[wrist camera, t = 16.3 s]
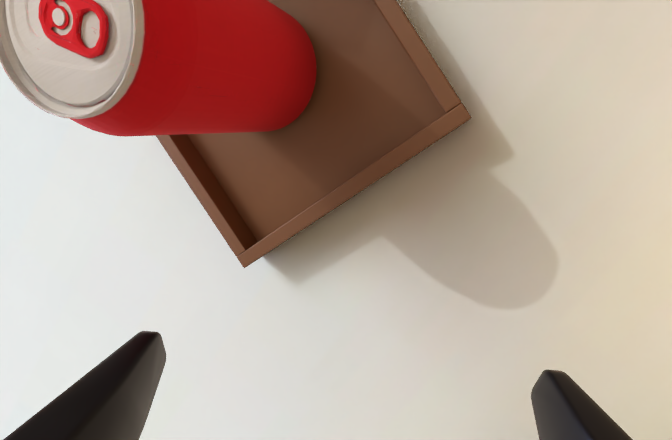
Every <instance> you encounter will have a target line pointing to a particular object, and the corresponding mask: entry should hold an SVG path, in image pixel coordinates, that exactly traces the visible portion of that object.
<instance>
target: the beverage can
mask: <svg viewBox="0 0 672 440" xmlns="http://www.w3.org/2000/svg"><path fill="white" fill-rule="evenodd" d="M0 62H1V64H2V66H3V68H4V70H5V72H6V73H7V75H8V77H9V78H10V80H11V81H12V82H13V84H14V85H15V86H16V88H17V89H18V90H19V91H20V92H21V93H22V94H23V95H24V96H25V97H26V98H27V99H28V100H29V101H31V102H32V103H33V104H34V105H35V106H37V107H39V108H40V109H42V110H44V111H45V112H47V113H50V114H53V115H56V116H59V117H63V118H70V119H71V120H73V121H75V122H77V123H79V124H81V125H83V126H85V127H87V128H90V129H92V130H95V131H98V132H102V133H105V134H109V135H115V136H149V135H179V134H209V133H239V132H267V131H274V130H278V129H281V128H283V127H285V126H287V125H289V124H290V123H291V122H293V121H294V120H295V119H296V118H297V117H298V116H299V115H300V114H301V113H302V112H303V111H304V109H305V108H306V106H307V104H308V103H309V101H310V99H311V96H312V93H313V90H314V87H315V82H316V69H317V66H316V57H315V53H314V49H313V46H312V43H311V41H310V38H309V36H308V35H307V33H306V31H305V30H304V28H303V27H302V26H301V25H300V23H299V22H298V21H297V20H296V19H294V18H293V17H292V16H291V15H289V14H288V13H286V12H285V11H283V10H282V9H280V8H278V7H277V6H275V5H274V4H272V3H271V2H269V1H268V0H0Z"/></svg>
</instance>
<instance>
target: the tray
mask: <svg viewBox="0 0 672 440" xmlns="http://www.w3.org/2000/svg"><path fill="white" fill-rule="evenodd" d="M268 1H269V2H271V3H272V4H274V5H275V6H277V7H278V8H280V9H282V10H283V11H285V12H286V13H288V14H289V15H291V16H292V17H293V18H294V19H296V20H297V21H298V22H299V23H300V25H301V26H302V27H303V28H304V30H305V31H306V33H307V35H308V36H309V38H310V41H311V43H312V46H313V49H314V53H315V57H316V66H317V69H316V82H315V87H314V90H313V93H312V96H311V99H310V101H309V103H308V104H307V106H306V108H305V109H304V111H303V112H302V113H301V114H300V115H299V116H298V117H297V118H296V119H295V120H294V121H293V122H291V123H290V124H289V125H287V126H285V127H283V128H281V129H278V130H274V131H267V132H239V133H209V134H179V135H156V137H157V138H158V140H159V141H160V143H161V144H162V146H163V147H164V149H165V150H166V152H167V153H168V155H169V156H170V158H171V159H172V161H173V162H174V164H175V165H176V167H177V168H178V170H179V171H180V173H181V174H182V176H183V177H184V179H185V180H186V182H187V183H188V185H189V186H190V188H191V189H192V191H193V192H194V194H195V195H196V197H197V198H198V200H199V201H200V203H201V204H202V206H203V207H204V209H205V210H206V212H207V213H208V215H209V216H210V218H211V219H212V221H213V222H214V224H215V225H216V227H217V228H218V230H219V231H220V233H221V234H222V236H223V237H224V239H225V240H226V242H227V243H228V245H229V246H230V248H231V249H232V251H233V252H234V254H235V255H236V256H237V258H238V260H239V261H240V263H241V264H242V266H243V267H244V268H245V267H247V266H248V265H250V264H251V263H253V262H254V261H256V260H258V259H259V258H261V257H262V256H264V255H265V254H267V253H268V252H270V251H271V250H273V249H274V248H276V247H277V246H279V245H280V244H282V243H283V242H285V241H286V240H288V239H289V238H291V237H292V236H294V235H295V234H297V233H299V232H300V231H302V230H303V229H305V228H306V227H308V226H309V225H311V224H312V223H314V222H315V221H317V220H318V219H320V218H321V217H323V216H324V215H326V214H327V213H329V212H330V211H332V210H333V209H335V208H336V207H338V206H339V205H341V204H342V203H344V202H345V201H347V200H348V199H350V198H352V197H353V196H355V195H356V194H358V193H359V192H361V191H362V190H364V189H365V188H367V187H368V186H370V185H371V184H373V183H374V182H376V181H377V180H379V179H380V178H382V177H383V176H385V175H386V174H388V173H389V172H391V171H392V170H394V169H395V168H397V167H398V166H400V165H401V164H403V163H405V162H406V161H408V160H409V159H411V158H412V157H414V156H415V155H417V154H418V153H420V152H421V151H423V150H424V149H426V148H427V147H429V146H430V145H432V144H433V143H435V142H436V141H438V140H439V139H441V138H442V137H444V136H445V135H447V134H448V133H450V132H451V131H453V130H454V129H456V128H458V127H459V126H461V125H462V124H464V123H465V122H467V121H468V120H470V119H471V116H470V114H469V113H468V111H467V110H466V108H465V107H464V105H463V104H462V103H461V100H460V99H459V97H458V96H457V94H456V93H455V91H454V90H453V88H452V86H451V85H450V83H449V82H448V80H447V79H446V77H445V76H444V74H443V72H442V71H441V69H440V68H439V66H438V65H437V63H436V62H435V60H434V58H433V57H432V55H431V54H430V52H429V51H428V49H427V48H426V46H425V45H424V43H423V41H422V40H421V38H420V37H419V35H418V34H417V32H416V31H415V29H414V27H413V26H412V24H411V23H410V21H409V20H408V18H407V17H406V15H405V13H404V12H403V10H402V9H401V7H400V6H399V4H398V3H397V1H396V0H268Z"/></svg>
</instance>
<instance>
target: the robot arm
mask: <svg viewBox="0 0 672 440" xmlns="http://www.w3.org/2000/svg"><path fill="white" fill-rule="evenodd" d="M165 362H166V352H165V348H164V345H163V341H162V337H161V335H160V334H159V333H158V332H151V331H142V332H140V333H138V334H137V335H135V336H134V337H133V338H131V339H130V340H129V341H128V342H126V343H125V344H124V345H123V346H121V347H120V348H119V349H118V350H116V351H115V352H114V353H112V354H111V355H110V356H109V357H107V358H106V359H105V360H104V361H102V362H101V363H100V364H99V365H97V366H96V367H95V368H93V369H92V370H91V371H90V372H88V373H87V374H86V375H85V376H83V377H82V378H81V379H80V380H78V381H77V382H76V383H75V384H73V385H72V386H71V387H69V388H68V389H67V390H66V391H64V392H63V393H62V394H61V395H59V396H58V397H57V398H56V399H54V400H53V401H52V402H50V403H49V404H48V405H47V406H45V407H44V408H43V409H42V410H40V411H39V412H38V413H37V414H35V415H34V416H33V417H31V418H30V419H29V420H28V421H26V422H25V423H24V424H23V425H21V426H20V427H19V428H18V429H16V430H15V431H14V432H12V433H11V434H10V435H9V436H7V437H6V438H5V439H4V440H139V437H140V435H141V432H142V430H143V428H144V425H145V422H146V419H147V416H148V413H149V410H150V407H151V404H152V401H153V398H154V395H155V392H156V389H157V387H158V384H159V381H160V378H161V375H162V372H163V369H164V366H165ZM531 400H532V405H533V410H534V415H535V420H536V425H537V430H538V435H539V440H633V439H632V438H630V437H629V436H628V435H627V434H626V433H625V432H624V431H623V430H622V429H621V428H620V427H619V426H618V425H617V424H616V423H615V422H614V421H613V420H612V419H611V418H610V417H609V416H608V415H607V414H606V413H605V412H604V411H603V410H602V409H601V408H600V407H599V406H598V405H597V404H596V403H595V402H594V401H593V400H592V399H591V398H590V397H589V396H588V395H587V394H586V393H585V392H584V391H583V390H582V389H581V388H580V387H579V386H578V385H577V384H576V383H575V382H574V381H573V380H572V379H571V378H570V377H569V376H568V375H567V374H566V373H564V372H562V371H556V370H545V371H543V372H542V374H541V376H540V377H539V379H538V380H537V382H536V384H535V385H534V387H533V389H532V393H531Z"/></svg>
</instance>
